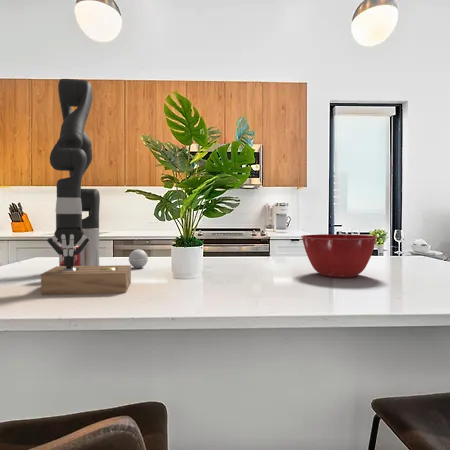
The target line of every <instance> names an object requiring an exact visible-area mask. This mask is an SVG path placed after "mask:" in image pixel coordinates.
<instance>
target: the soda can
mask: <svg viewBox="0 0 450 450" xmlns="http://www.w3.org/2000/svg"><path fill="white" fill-rule="evenodd" d="M59 246H60V247H61V249H62V250H63V248H62V244H61V245H59ZM79 246H80V245H76V248H75V251H76V250H77V249H78V248H79ZM69 250H70V249H69ZM69 256H70V255H69ZM58 262H59V263H58V266H64V256H63V255H61V254H58ZM74 266H81V253H79V254H77V255H75V265H74Z"/></svg>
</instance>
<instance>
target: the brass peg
mask: <svg viewBox="0 0 450 450" xmlns="http://www.w3.org/2000/svg"><path fill="white" fill-rule="evenodd" d="M103 270H116V268H115V267H105V268H103Z"/></svg>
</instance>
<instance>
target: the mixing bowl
mask: <svg viewBox="0 0 450 450" xmlns="http://www.w3.org/2000/svg"><path fill="white" fill-rule="evenodd" d="M377 238H378V236H376V235H371V234H370V235H367V234H342V233H340V234H339V233H338V234H336V233H335V234H334V233H332V234H328V233H327V234H323V233H322V234H321V233H319V234H304V235H301V239H302V243H303V246H304V250H305V253H306V256H307V258H308V260H309V261H308V262H310V265H311V266H312V268H313V269H314V270H315V271H316V273H319V274H320V276H322V277H327V278H335V279H337V278H338V279H339V278H340V279H345V278H346V279H348V278H349V277H350V278H356V277H357V275H360V274H361V273H362V272H363V271H365V270H366V267H367V265H368V264H369V262H370V259H371V257H372V255H373V252H374V249H375V245H376V242H377ZM350 278H349V279H350Z"/></svg>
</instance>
